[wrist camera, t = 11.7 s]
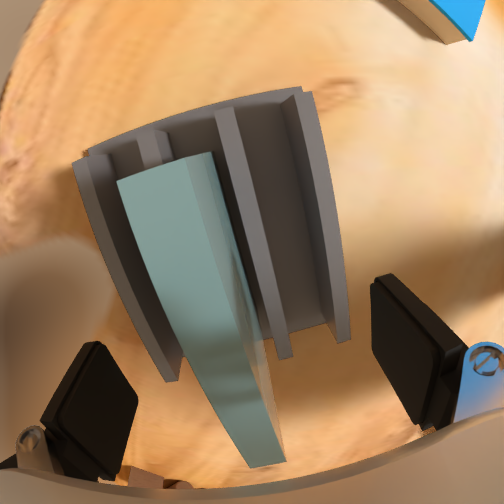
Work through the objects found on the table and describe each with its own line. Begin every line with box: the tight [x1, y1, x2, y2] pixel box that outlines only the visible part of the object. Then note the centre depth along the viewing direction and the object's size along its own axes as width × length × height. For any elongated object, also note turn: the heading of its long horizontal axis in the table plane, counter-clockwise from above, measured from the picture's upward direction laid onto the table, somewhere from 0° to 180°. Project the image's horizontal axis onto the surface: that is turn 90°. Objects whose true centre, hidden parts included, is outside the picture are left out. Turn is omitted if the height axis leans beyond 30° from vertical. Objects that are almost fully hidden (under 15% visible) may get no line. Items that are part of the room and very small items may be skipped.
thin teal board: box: [116, 151, 287, 468], centre depth 14 cm, size 2×12×13 cm, turn 14°
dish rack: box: [72, 86, 351, 382], centre depth 19 cm, size 15×18×5 cm
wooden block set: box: [128, 466, 205, 489], centre depth 34 cm, size 17×6×18 cm
